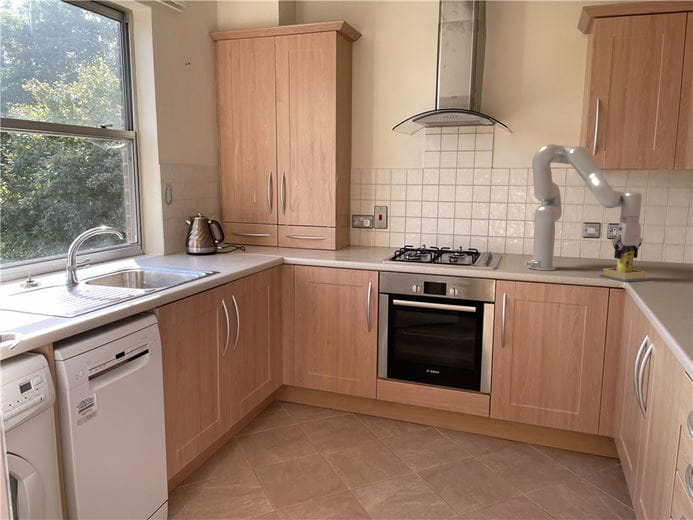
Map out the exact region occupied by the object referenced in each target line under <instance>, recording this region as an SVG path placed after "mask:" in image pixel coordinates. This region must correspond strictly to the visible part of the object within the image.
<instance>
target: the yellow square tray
mask: <svg viewBox="0 0 693 520" xmlns="http://www.w3.org/2000/svg"><path fill="white" fill-rule="evenodd" d="M616 269H617V267H605V268H603V270H602V272H603V273H601V274H599V277H600V278H605V279H610V280H612V281H613V280H614V281H618V282H622V283H629V282H628V281H635V282H644V281H645V282H646V281H649V280H650V278H649V277H648V278H647V277H646V275H647V274H646V273H647V271H644V270H639V269H634V268H632V272H628V273H625V272H620V271H616Z"/></svg>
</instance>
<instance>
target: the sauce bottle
mask: <svg viewBox="0 0 693 520" xmlns="http://www.w3.org/2000/svg"><path fill="white" fill-rule="evenodd" d="M621 250H622V255H621V259H617V263H616V268H617V269H616V271H620V272H625V273H628V272H632V269H633V265H634V259H635V258H634V248H633V246H623V247H622V249H621Z"/></svg>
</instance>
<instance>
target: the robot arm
mask: <svg viewBox="0 0 693 520" xmlns="http://www.w3.org/2000/svg"><path fill="white" fill-rule="evenodd" d="M531 163H532V165H531V166H532V167H531V169H532V179H533V188H534V189H533V191H534V196H535V198H536V200H537V201H540V202H541V205H539V206H538V207H537V208H536V210H535V212H534V215H533V216H534V217H533V221H534V232H533V233H534V235H533V245H532V246H533V247H532V249H533V250H532V258H530V260H525V261H524V262H523V264H524V265H525V266H528V268H529V269H531V270H536V271H555V270H556V269H557V266H555V265H553V262H554V252H555V251H554V250H555V241H556V222H557V221H559V220H560V219H561V217H562V212H563V209H562V199H561V198H562V197H561V191H560V188H559V186H558V185H557V183H555V182H553V173H552V168H551V165H552V163H553V164H554V163H555V164H564V165H571V167H573V169H574V170H575V171H576V173H577V174H578V175H579V176H580V177H581V179H583V181H584V183H585V184H586V186H587V188H588V189H589V190H590V192H591V194H592V195H593V196H594V197H595V199H596V200H597V201H598V202H599V203H600V205H601V206H603V207H604V208H605V209H615V208H620V209H621V210H620V218H619V223H618V226H617V231H616V237H615V238H613V239H612V240H611V242H612V247H613V249H614V255H613V258H614V259H617V260H618V259H621V255H622V250H621V249H622V247H623V246H633V248H634V258H633V259H637V258H638V254H639V253H638V252H639V249H640V247H641V246H642V242H643V240H644V239H643V238H642V237H641V236H642V235H641V230H642V229H641V223H640V217H641V207H642V198H643V195H642V193H641V192H637V191H625V192H624V191H618V190H613V188H612V187H611V186H610V185H609V183H608V181H606V179H605V177H604V174H603V169H601V167H600V166H599V165H598V164H597V163H596V161H595V160H594V159H593V157H591V152H590V151H589V149H588V148H586V147H584V146H580V145H579V146H568V145H559V144H555V143H548V144H545V145H543V146H541V147H540V148H538V150H536V152H535V153H534V155H533V157H532V162H531Z"/></svg>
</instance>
